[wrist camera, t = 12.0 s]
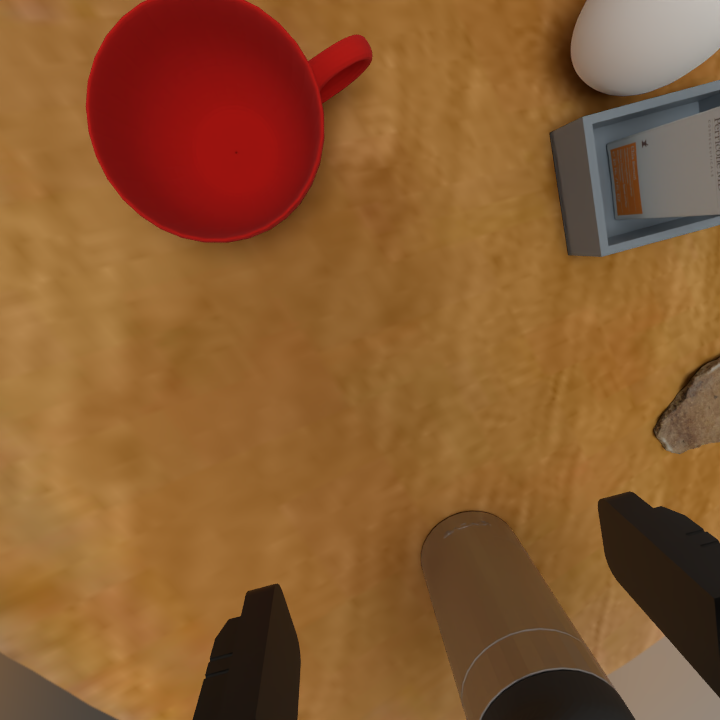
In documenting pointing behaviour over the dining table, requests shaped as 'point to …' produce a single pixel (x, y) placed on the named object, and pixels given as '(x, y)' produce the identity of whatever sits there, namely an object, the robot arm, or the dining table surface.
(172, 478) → the dining table surface
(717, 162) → the skincare box
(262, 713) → the robot arm
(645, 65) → the sauce bottle
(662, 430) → the pottery shard
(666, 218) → the bin
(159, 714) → the dining table surface
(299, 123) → the ceramic cup
